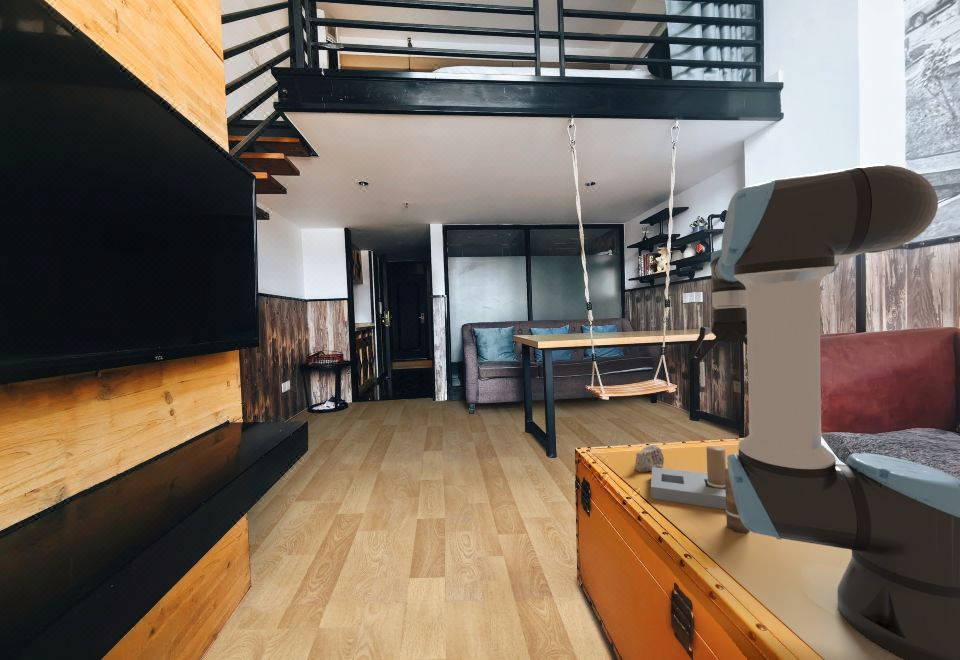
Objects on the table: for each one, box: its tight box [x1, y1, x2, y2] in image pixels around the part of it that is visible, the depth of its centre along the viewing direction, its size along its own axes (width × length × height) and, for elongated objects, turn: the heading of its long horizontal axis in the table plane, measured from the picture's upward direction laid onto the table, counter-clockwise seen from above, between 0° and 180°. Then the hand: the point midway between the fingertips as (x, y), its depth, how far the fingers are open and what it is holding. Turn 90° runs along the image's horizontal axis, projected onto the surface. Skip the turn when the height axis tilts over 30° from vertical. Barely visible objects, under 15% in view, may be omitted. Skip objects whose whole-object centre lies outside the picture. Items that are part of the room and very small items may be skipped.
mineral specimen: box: [634, 444, 665, 473], centre depth 114 cm, size 13×7×6 cm, turn 143°
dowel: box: [725, 467, 750, 534], centre depth 79 cm, size 4×4×12 cm
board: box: [650, 445, 727, 511], centre depth 96 cm, size 14×20×12 cm
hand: (732, 387), depth 99 cm, fingers open, 13 cm apart
